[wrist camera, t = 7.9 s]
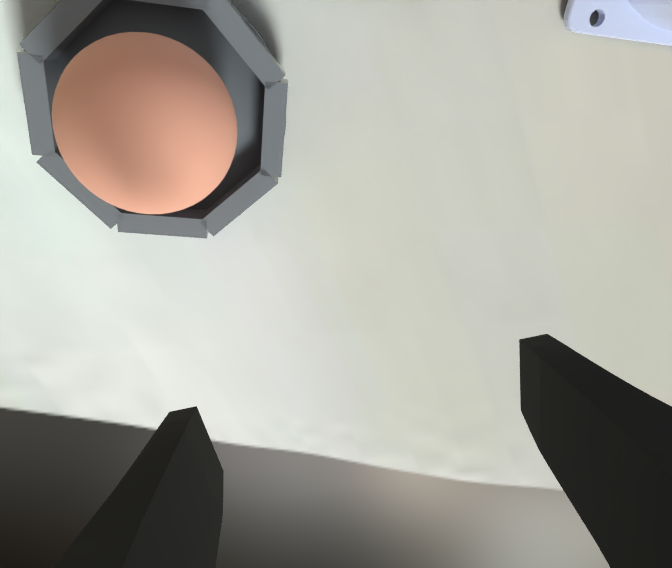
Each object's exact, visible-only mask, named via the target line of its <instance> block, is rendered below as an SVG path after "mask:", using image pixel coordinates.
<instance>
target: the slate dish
mask: <svg viewBox="0 0 672 568" xmlns="http://www.w3.org/2000/svg"><path fill="white" fill-rule="evenodd" d="M125 32H147V33H152V34H158V35H162V36H165V37H168V38H171V39H173V40H176V41H178V42H180V43H182V44H184V45H185V46H187V47H189V48H190V49H192V50H194V51H195V52H196V53H197V54H199V55H200V56H201V57H202V58H204V59H205V60H206V61H207V62H208V63H209V64H210V65H211V66H212V68H213V69H214V70H215V71H216V73H217V74H218V75H219V76H220V78H221V80H222V81H223V83H224V85H225V86H226V88H227V90H228V93H229V95H230V97H231V100H232V103H233V106H234V110H235V114H236V120H237V145H236V149H235V154H234V157H233V160H232V163H231V165H230V168H229V170H228V172H227V173H226V175H225V177H224V178H223V180H222V181H221V182H220V184H219V185H218V186H217V187H216V188H215V189H214V190H213V191H212V192H211V193H210V194H209V195H208V196H206V197H205V198H204V199H203V200H201V201H199V202H198V203H196V204H194V205H193V206H190V207H188V208H185V209H183V210H179V211H175V212H171V213H164V214H142V213H136V212H131V211H127V210H124V209H121V208H118V207H116V206H114V205H111V204H109V203H107V202H105V201H104V200H102V199H100V198H99V197H97V196H96V195H94V194H93V193H92V192H90V191H89V190H88V189H87V188H86V187H85V186H84V185H83V184H82V183H80V182H79V180H78V179H77V178H76V177H75V176H74V174H73V173H72V172H71V171H70V169H69V168H68V166H67V165H66V163H65V161H64V159H63V157H62V155H61V153H60V151H59V148H58V146H57V143H56V140H55V135H54V131H53V125H52V102H53V97H54V93H55V89H56V87H57V84H58V81H59V79H60V76H61V75H62V73H63V71H64V70H65V68H66V66H67V65H68V64H69V63H70V61H71V60H72V59H73V58H74V57H75V56H76V55H77V54H78V53H79V52H80V51H81V50H83V49H84V48H85V47H87V46H89V45H90V44H92V43H93V42H95V41H97V40H99V39H102V38H104V37H106V36H110V35H114V34H117V33H125ZM20 45H21V46H22V47H23V48H24V49H25V50H26V51H23V52H17V55H18V62H19V69H20V76H21V83H22V89H23V96H24V103H25V110H26V116H27V123H28V130H29V137H30V144H31V150H32V155H42V157H41V158H40V159H39V160H38V161H37V163H38V164H39V165H40V166H41V167H42V168H44V169H45V170H46V171H47V172H48V173H49V174H50V175H51V176H52V177H54V178H55V179H56V180H57V181H58V182H59V183H60V184H61V185H63V186H64V187H65V188H66V189H67V190H68V191H69V192H70V193H71V194H73V195H74V196H75V197H76V198H77V199H78V200H79V201H80V202H82V203H83V204H84V205H85V206H86V207H87V208H88V209H89V210H90V211H92V212H93V213H94V214H95V215H96V216H97V217H98V218H99V219H101V220H102V221H103V222H104V223H105V224H106V225H107V226H108V227H109V228H112V227H113V226H114V225H116V224H118V232H127V233H141V234H155V235H168V236H182V237H196V238H207V236H208V233H209V232H210V233H211V234H212V235H213V236H214V235H216V234H217V233H218V232H219V231H221V230H222V229H223V228H224V227H225V226H227V225H228V224H229V223H230V222H231V221H233V220H234V219H235V218H236V217H238V216H239V215H240V214H241V213H242V212H244V211H245V210H246V209H247V208H249V207H250V206H251V205H252V204H253V203H255V202H256V201H257V200H258V199H260V198H261V197H262V196H263V195H264V194H266V193H267V192H268V191H269V190H270V189H272V188H273V187H274V186H275V185H277V184H278V177H281V171H282V157H283V143H284V135H285V127H286V102H287V88H288V80H287V79H282V78H283V77H284V76H285V71H284V70H283V68H282V67H281V66H280V64H279V63H278V62H277V61H276V59H275V58H274V57H273V55H272V54H271V52H270V50H269V49H268V47H267V45H266V43H265V42H264V40H263V39H262V37H261V36H260V34H259V33H258V31H257V30H256V29H255V28H254V27H253V25H252V24H251V23H250V22H249V21H248V20H247V19H246V17H245V16H244V15H242V14H241V13H240V12H239V11H238V10H237V9H236V8H235V7H234V6H233V4H232V3H231V2H230V1H229V0H61V1H60V2H59V3H58V4H57V5H56V6H55V7H54V8H53V9H52V10H51V11H50V12H49V13H48V14H47V16H46V17H45V18H44V19H43V20H42V21H41V22H40V23H39V24H38V25H37V26H36V27H35V28H34V29H33V30H32V31H31V32H30V34H29V35H28V36H27V37H26V38H25V39H24V40H23V41H22V42H21V43H20Z"/></svg>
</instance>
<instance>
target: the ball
mask: <svg viewBox="0 0 672 568" xmlns="http://www.w3.org/2000/svg"><path fill="white" fill-rule="evenodd" d="M52 125H53V131H54V135H55V140H56V143H57V146H58V148H59V151H60V153H61V155H62V157H63V159H64V161H65V163H66V165H67V166H68V168H69V169H70V171H71V172H72V173H73V174H74V176H75V177H76V178H77V179H78V180H79V182H80V183H82V184H83V185H84V186H85V187H86V188H87V189H88V190H89V191H90V192H92V193H93V194H94V195H96V196H97V197H99V198H100V199H102V200H104V201H105V202H107V203H109V204H111V205H114V206H116V207H118V208H121V209H124V210H127V211H131V212H136V213H142V214H164V213H171V212H175V211H179V210H183V209H185V208H188V207H190V206H193V205H194V204H196V203H198V202H199V201H201V200H203V199H204V198H205V197H206V196H208V195H209V194H210V193H211V192H212V191H213V190H214V189H215V188H216V187H217V186H218V185H219V184H220V182H221V181H222V180H223V178H224V177H225V175H226V173H227V172H228V170H229V168H230V165H231V163H232V160H233V157H234V154H235V149H236V145H237V120H236V114H235V110H234V106H233V103H232V100H231V97H230V95H229V93H228V90H227V88H226V86H225V85H224V83H223V81H222V80H221V78H220V76H219V75H218V74H217V73H216V71H215V70H214V69H213V68H212V66H211V65H210V64H209V63H208V62H207V61H206V60H205V59H204V58H202V57H201V56H200V55H199V54H197V53H196V52H195V51H194V50H192V49H190V48H189V47H187V46H185V45H184V44H182V43H180V42H178V41H176V40H173V39H171V38H168V37H165V36H162V35H158V34H152V33H147V32H125V33H117V34H114V35H110V36H106V37H104V38H102V39H99V40H97V41H95V42H93V43H92V44H90V45H89V46H87V47H85V48H84V49H83V50H81V51H80V52H79V53H78V54H77V55H76V56H75V57H74V58H73V59H72V60H71V61H70V63H69V64H68V65H67V66H66V68H65V70H64V71H63V73H62V75H61V76H60V79H59V81H58V84H57V87H56V89H55V93H54V97H53V102H52Z"/></svg>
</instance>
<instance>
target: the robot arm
mask: <svg viewBox="0 0 672 568" xmlns="http://www.w3.org/2000/svg"><path fill="white" fill-rule="evenodd" d="M595 10H597V12H598V14H599V17H598V20H597V22H596V24H594V25H593V26H591V24H590V22H589V20H590V16H591V14H592V12H594V11H595ZM564 24H565V27H566V28H567V29H568V30H569V31H571V32H575V33H582V34H589V35H596V36H604V37H611V38H618V39H625V40H633V41H640V42H647V43H654V44H662V45H669V46H672V0H568V3H567V6H566V10H565V13H564ZM519 342H520V393H521V411H522V414H523V416H524V418H525V420H526V423H527V425H528V427H529V429H530V432H531V434H532V436H533V438H534V440H535V442H536V444H537V446H538V449H539V451H540V452H541V454H542V456H543V457H544V459H545V461H546V462H547V464H548V466H549V467H550V469H551V471H552V472H553V474H554V475H555V477H556V479H557V480H558V482H559V484H560V485H561V487H562V488H563V490H564V492H565V493H566V495H567V496H568V498H569V500H570V501H571V503H572V505H573V506H574V507H575V509H576V511H577V513H578V514H579V516H580V517H581V519H582V521H583V522H584V524H585V525H586V527H587V529H588V530H589V531H590V533H591V535H592V536H593V538H594V540H595V541H596V543H597V545H598V546H599V548H600V550H601V552H602V554H603V555H604V557H605V559H606V560H607V562H608V564H609V566H610V568H672V407H671V406H669V405H668V404H666V403H664V402H662V401H660V400H658V399H656V398H654V397H652V396H650V395H649V394H647V393H645V392H643V391H641V390H639V389H638V388H636V387H634V386H632V385H631V384H629V383H627V382H625V381H624V380H622V379H620V378H619V377H617V376H615V375H613V374H612V373H610V372H608V371H607V370H605V369H603V368H602V367H600V366H598V365H597V364H595V363H594V362H592V361H590V360H589V359H587V358H585V357H584V356H582V355H581V354H579V353H577V352H576V351H574V350H573V349H571V348H569V347H568V346H566V345H565V344H563V343H561V342H560V341H558V340H556V339H555V338H553V337H551V336H550V335H548V334H544V335H539V336H535V337H530V338H525V339H520V340H519ZM222 513H223V469H222V467H221V464H220V462H219V459H218V457H217V454H216V452H215V450H214V447H213V445H212V442H211V440H210V438H209V435H208V433H207V430H206V428H205V426H204V423H203V421H202V418H201V416H200V413H199V411H198V409H197V406H196V407H191V408H187V409H182V410H177V411H172V412H169V413H168V415H167V416H166V418H165V419H164V420H163V422H162V423H161V425H160V426H159V427H158V429H157V430H156V432H155V433H154V435H153V436H152V437H151V439H150V440H149V442H148V443H147V445H146V446H145V447H144V449H143V450H142V452H141V453H140V455H139V456H138V457H137V459H136V460H135V462H134V463H133V465H132V466H131V467H130V469H129V470H128V471H127V473H126V475H125V476H124V477H123V478H122V480H121V481H120V482H119V484H118V485H117V487H116V488H115V489H114V491H113V492H112V493H111V495H110V496H109V497H108V498H107V500H106V501H105V502H104V504H103V505H102V506H101V507H100V509H99V510H98V511H97V512H96V514H95V515H94V516H93V517H92V519H91V520H90V521H89V522H88V524H87V525H86V526H85V527H84V529H83V530H82V531H81V533H80V534H79V535H78V536H77V537H76V539H75V540H74V541H73V542H72V543H71V544H70V546H69V547H68V548H67V549H66V550H65V551H64V552H63V554H62V555H61V556H60V557H59V558H58V559H57V560H56V561H55V562H54V564H53V565H52V566H51V567H50V568H215V564H216V557H217V551H218V544H219V537H220V530H221V522H222V515H223V514H222Z"/></svg>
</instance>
